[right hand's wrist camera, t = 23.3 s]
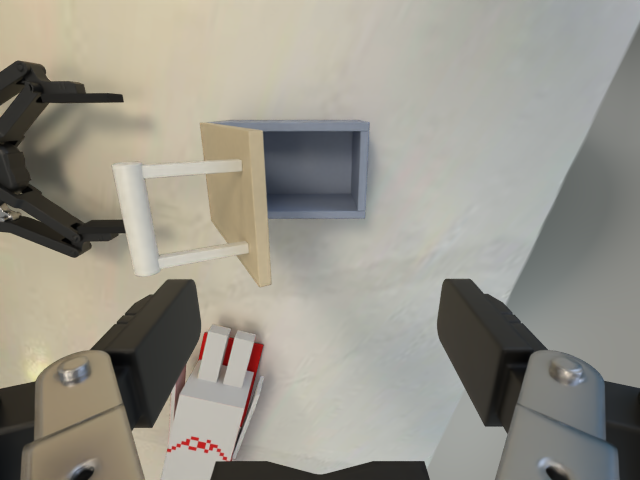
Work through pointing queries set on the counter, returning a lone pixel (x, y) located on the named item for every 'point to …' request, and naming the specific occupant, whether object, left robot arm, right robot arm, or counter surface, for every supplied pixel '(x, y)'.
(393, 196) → the counter surface
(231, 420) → the toy
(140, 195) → the lid
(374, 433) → the counter surface
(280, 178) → the chest
